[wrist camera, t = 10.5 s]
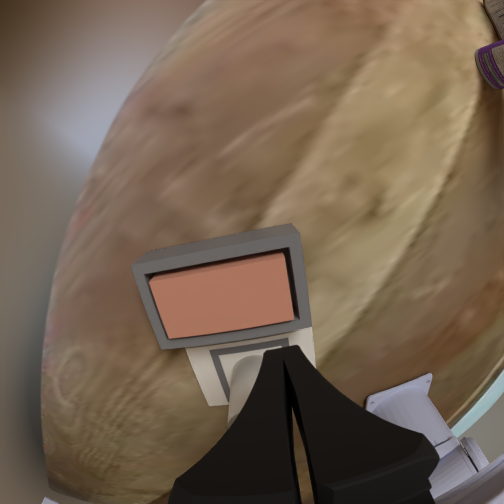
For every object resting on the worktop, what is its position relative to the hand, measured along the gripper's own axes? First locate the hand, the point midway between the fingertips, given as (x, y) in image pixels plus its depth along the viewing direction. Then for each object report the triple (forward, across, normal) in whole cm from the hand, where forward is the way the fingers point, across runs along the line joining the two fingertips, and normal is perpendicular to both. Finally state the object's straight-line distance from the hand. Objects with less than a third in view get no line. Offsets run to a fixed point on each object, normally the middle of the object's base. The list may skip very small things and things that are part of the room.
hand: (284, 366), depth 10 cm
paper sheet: (+9, +2, +8) cm, 12 cm away
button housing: (+9, +3, -1) cm, 10 cm away
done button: (+8, +3, -1) cm, 8 cm away
